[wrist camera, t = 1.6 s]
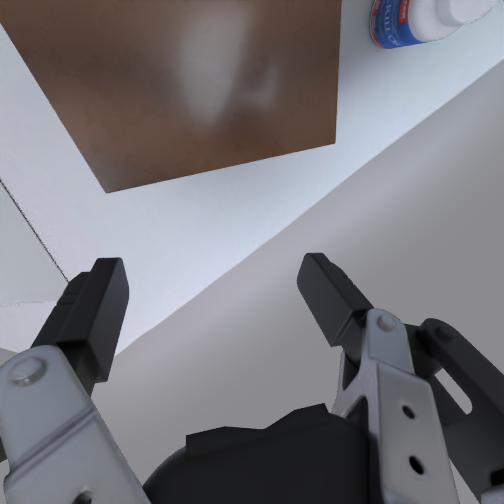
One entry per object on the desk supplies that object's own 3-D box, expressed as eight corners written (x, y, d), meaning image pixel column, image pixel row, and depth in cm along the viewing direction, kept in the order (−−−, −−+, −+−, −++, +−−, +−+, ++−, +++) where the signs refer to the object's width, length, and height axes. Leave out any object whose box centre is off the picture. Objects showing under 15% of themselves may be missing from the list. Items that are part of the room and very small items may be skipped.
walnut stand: (85, 6, 20) (-61, -74, 10) (284, -44, 20) (350, -185, 9) (149, 153, 28) (105, 194, 18) (294, 120, 27) (335, 143, 17)
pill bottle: (361, 2, 22) (436, -43, 14) (418, -46, 20) (536, -124, 13) (375, 63, 25) (443, 54, 17) (425, 25, 23) (525, -3, 16)
